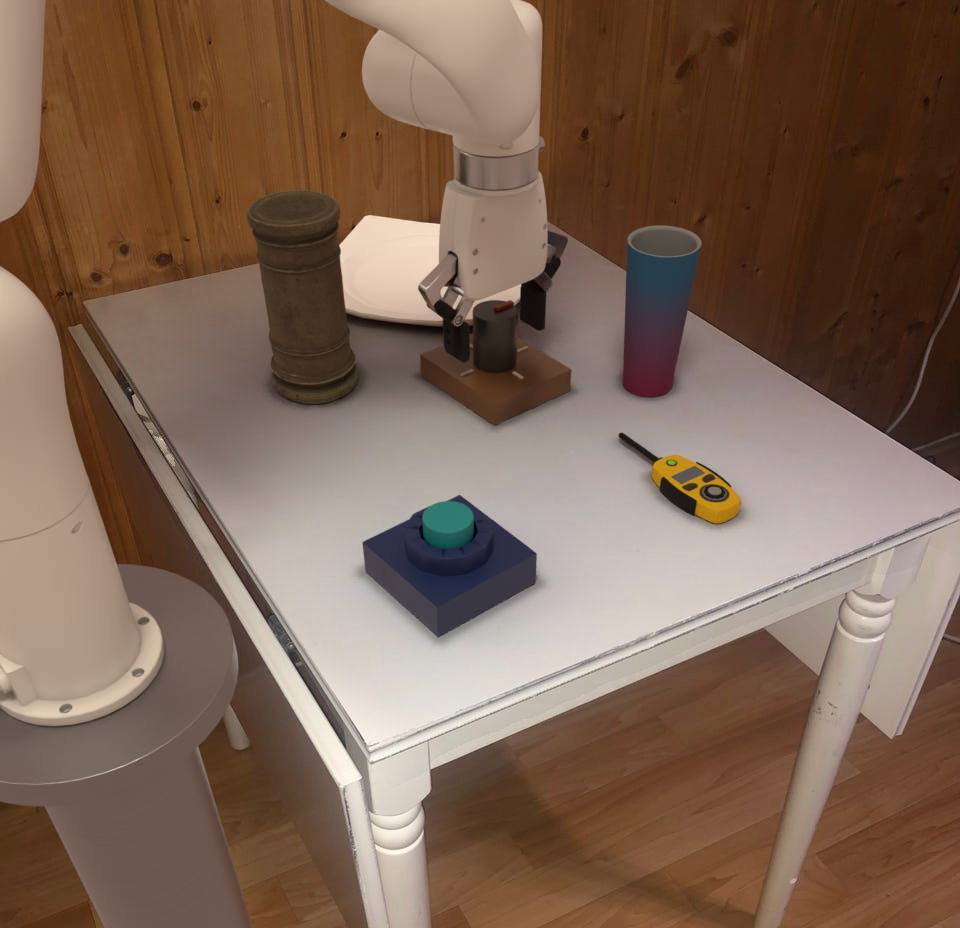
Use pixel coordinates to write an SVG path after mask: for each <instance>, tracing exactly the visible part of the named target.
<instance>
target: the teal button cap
mask: <svg viewBox="0 0 960 928" xmlns="http://www.w3.org/2000/svg"><path fill="white" fill-rule="evenodd" d="M427 507H428V508H427ZM427 507H426V508H427V509H426V510H425V511H424V513H423V516H422V520H423V536H424V539H425V541H426V542H427V543H428V544H429V545H431V546H435V547H439V548H443V549H449V548H459V547H462V546H464V545H466V544H468V543H469V542H470V541H471V540H472V538H473V535H474V516H473V512H472V511H471V509H470V508H469V507H467V506H466V505H464V504H462V503H459V502H454V501H448V500H444V501H438V502H436V503H433V504H431V505H429V506H427Z"/></svg>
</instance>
